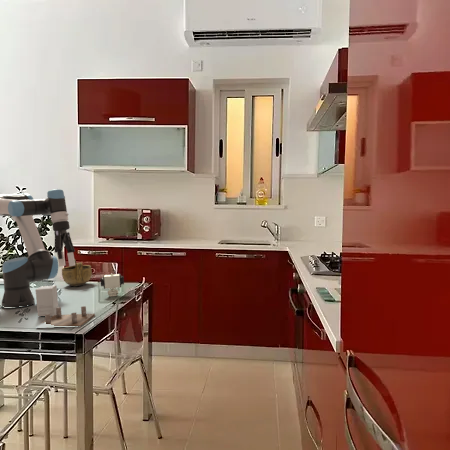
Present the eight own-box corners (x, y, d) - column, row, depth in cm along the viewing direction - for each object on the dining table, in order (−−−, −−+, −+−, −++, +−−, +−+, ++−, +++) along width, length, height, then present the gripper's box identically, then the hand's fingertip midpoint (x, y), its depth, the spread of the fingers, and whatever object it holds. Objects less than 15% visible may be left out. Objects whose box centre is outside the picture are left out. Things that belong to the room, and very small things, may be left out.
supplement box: (59, 312, 219) (57, 285, 218) (54, 316, 212) (51, 288, 211) (43, 313, 219) (40, 286, 218) (37, 317, 211) (35, 289, 211)
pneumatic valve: (124, 295, 249) (123, 272, 248) (101, 298, 246) (99, 274, 245) (124, 293, 254) (123, 271, 253) (101, 295, 251) (100, 273, 250)
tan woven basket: (59, 284, 292) (57, 260, 291) (87, 280, 301) (86, 257, 300) (66, 290, 273) (64, 264, 272) (96, 286, 281) (94, 260, 280)
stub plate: (36, 329, 192) (35, 316, 192) (54, 317, 210) (53, 306, 210) (80, 327, 191) (79, 315, 191) (94, 315, 209) (94, 304, 208)
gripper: (58, 218, 215) (66, 264, 213) (76, 222, 239) (83, 264, 238) (42, 221, 215) (49, 267, 213) (61, 225, 239) (68, 267, 238)
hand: (67, 266), depth 225 cm, fingers open, 13 cm apart
